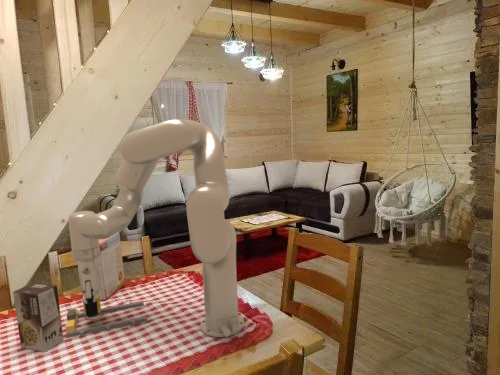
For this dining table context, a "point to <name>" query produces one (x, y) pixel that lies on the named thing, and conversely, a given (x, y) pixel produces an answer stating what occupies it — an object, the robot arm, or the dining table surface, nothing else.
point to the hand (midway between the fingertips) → (92, 310)
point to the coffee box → (38, 316)
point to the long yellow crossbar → (71, 320)
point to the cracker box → (110, 266)
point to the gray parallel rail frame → (110, 325)
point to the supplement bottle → (97, 306)
